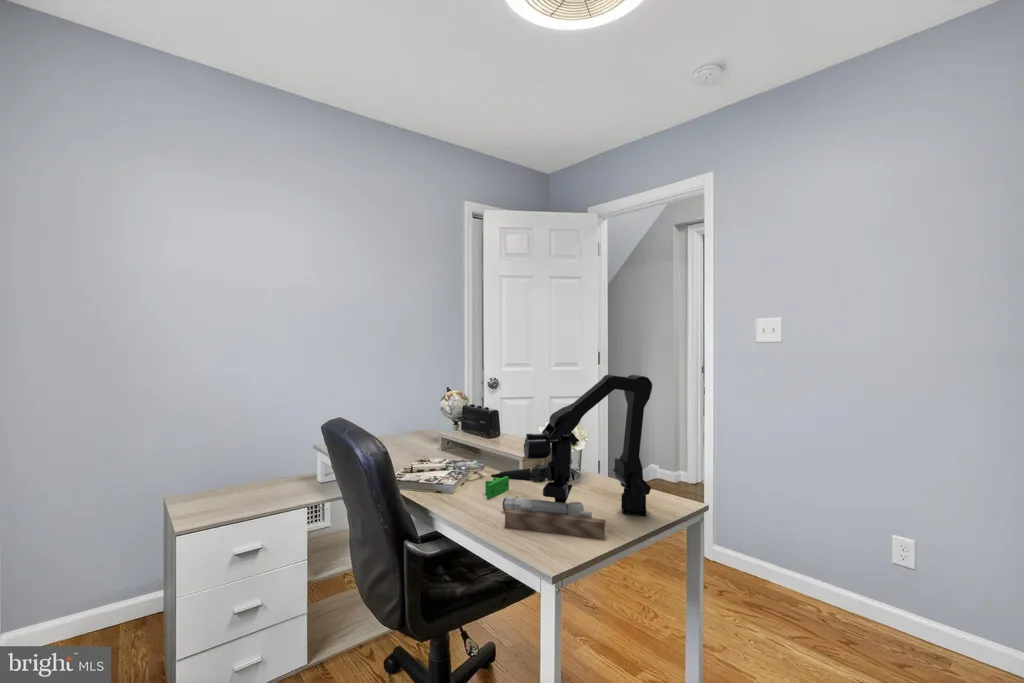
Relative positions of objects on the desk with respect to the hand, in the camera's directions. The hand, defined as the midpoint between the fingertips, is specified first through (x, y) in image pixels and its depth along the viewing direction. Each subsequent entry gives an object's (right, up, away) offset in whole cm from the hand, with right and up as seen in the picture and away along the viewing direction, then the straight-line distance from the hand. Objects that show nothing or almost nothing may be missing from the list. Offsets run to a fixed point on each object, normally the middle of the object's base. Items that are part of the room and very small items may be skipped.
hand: (559, 511), depth 136 cm
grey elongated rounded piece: (-4, -2, -2) cm, 5 cm away
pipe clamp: (-19, -1, +19) cm, 27 cm away
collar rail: (-3, -1, -10) cm, 11 cm away
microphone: (-11, -1, +36) cm, 37 cm away
